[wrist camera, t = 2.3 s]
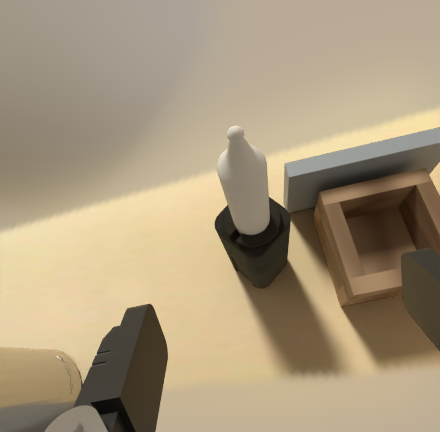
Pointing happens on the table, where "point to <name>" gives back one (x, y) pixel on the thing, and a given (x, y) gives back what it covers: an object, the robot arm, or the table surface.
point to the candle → (251, 213)
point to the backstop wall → (358, 166)
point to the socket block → (376, 232)
